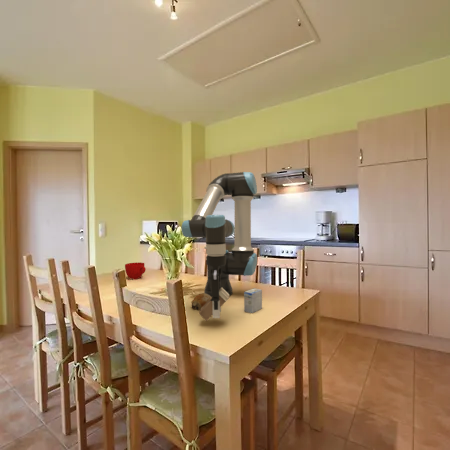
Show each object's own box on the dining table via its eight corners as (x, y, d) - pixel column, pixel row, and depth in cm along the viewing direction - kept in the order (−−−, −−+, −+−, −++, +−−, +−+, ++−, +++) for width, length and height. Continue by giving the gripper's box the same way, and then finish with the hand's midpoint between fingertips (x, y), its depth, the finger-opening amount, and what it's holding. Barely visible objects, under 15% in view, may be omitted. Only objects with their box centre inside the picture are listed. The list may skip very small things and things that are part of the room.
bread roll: (212, 317, 121) (219, 300, 122) (191, 310, 118) (198, 293, 119) (207, 310, 131) (213, 295, 131) (187, 303, 128) (194, 287, 129)
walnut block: (200, 308, 108) (221, 287, 108) (208, 315, 108) (229, 294, 108) (198, 313, 102) (221, 291, 102) (206, 321, 102) (228, 298, 102)
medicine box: (253, 306, 124) (253, 287, 124) (262, 308, 121) (262, 289, 121) (243, 311, 118) (243, 291, 118) (252, 313, 115) (252, 293, 115)
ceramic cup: (137, 281, 178) (137, 266, 178) (121, 279, 188) (120, 264, 187) (152, 278, 189) (152, 263, 189) (136, 275, 198) (136, 261, 198)
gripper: (208, 252, 114) (209, 306, 115) (203, 258, 95) (204, 324, 96) (226, 251, 114) (227, 306, 114) (224, 258, 95) (225, 323, 95)
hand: (216, 314), depth 105 cm, fingers closed on walnut block, 6 cm apart
